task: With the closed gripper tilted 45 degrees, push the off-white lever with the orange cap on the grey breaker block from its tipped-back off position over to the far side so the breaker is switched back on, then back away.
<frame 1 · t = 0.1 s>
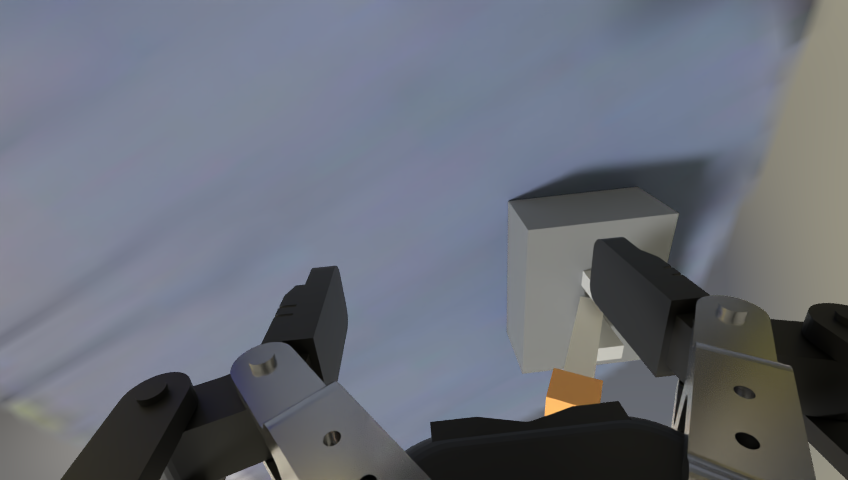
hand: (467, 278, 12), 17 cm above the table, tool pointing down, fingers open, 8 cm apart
breaker block: (566, 265, 33), on the table
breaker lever: (581, 361, 24), point 10 cm above the table, hinge at 30.0°
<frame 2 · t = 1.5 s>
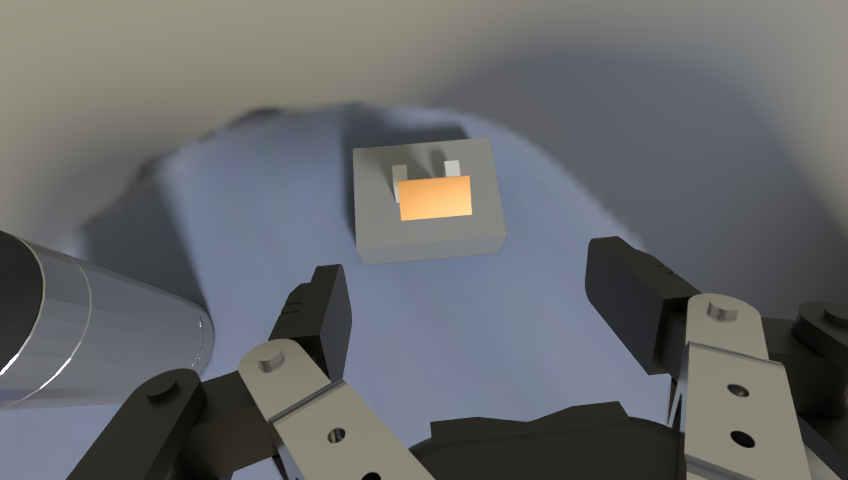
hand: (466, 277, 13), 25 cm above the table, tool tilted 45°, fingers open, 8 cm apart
breaker block: (426, 212, 40), on the table
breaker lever: (430, 193, 30), point 10 cm above the table, hinge at 30.0°
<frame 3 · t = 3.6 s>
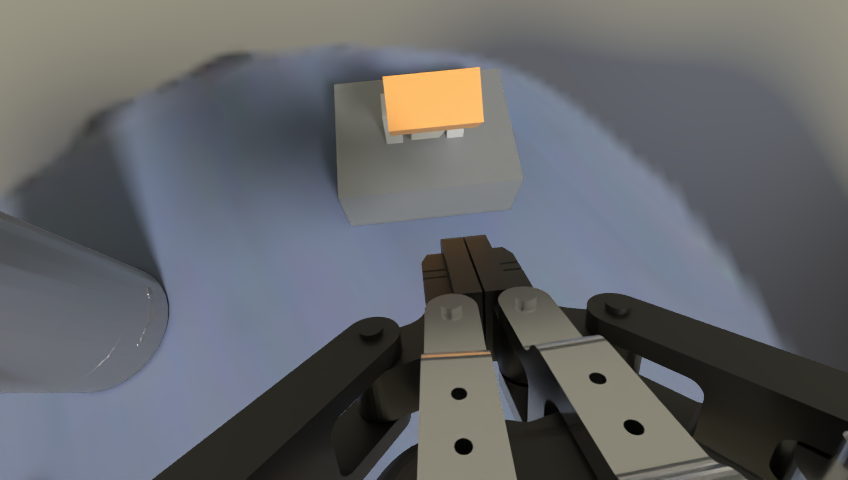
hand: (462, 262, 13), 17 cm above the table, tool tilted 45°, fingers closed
breaker block: (424, 164, 34), on the table
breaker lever: (427, 116, 23), point 10 cm above the table, hinge at 30.0°
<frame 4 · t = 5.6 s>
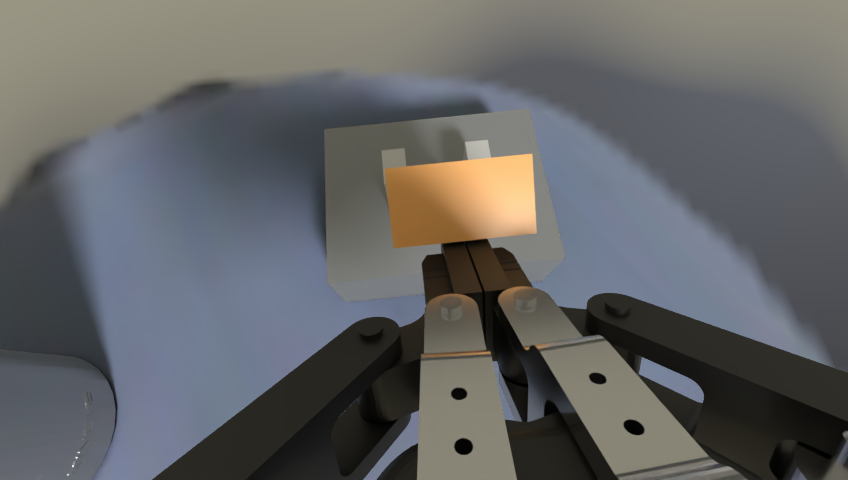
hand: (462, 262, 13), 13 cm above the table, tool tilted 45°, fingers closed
breaker block: (435, 222, 28), on the table
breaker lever: (446, 193, 17), point 10 cm above the table, hinge at 30.0°, touching gripper
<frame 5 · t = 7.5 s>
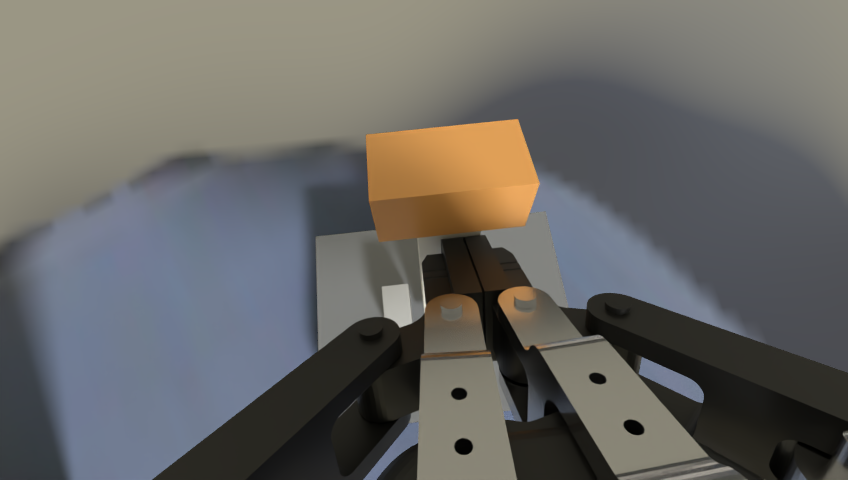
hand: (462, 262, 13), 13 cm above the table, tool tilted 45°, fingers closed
breaker block: (440, 325, 25), on the table
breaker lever: (445, 253, 15), point 11 cm above the table, hinge at -11.7°, touching gripper
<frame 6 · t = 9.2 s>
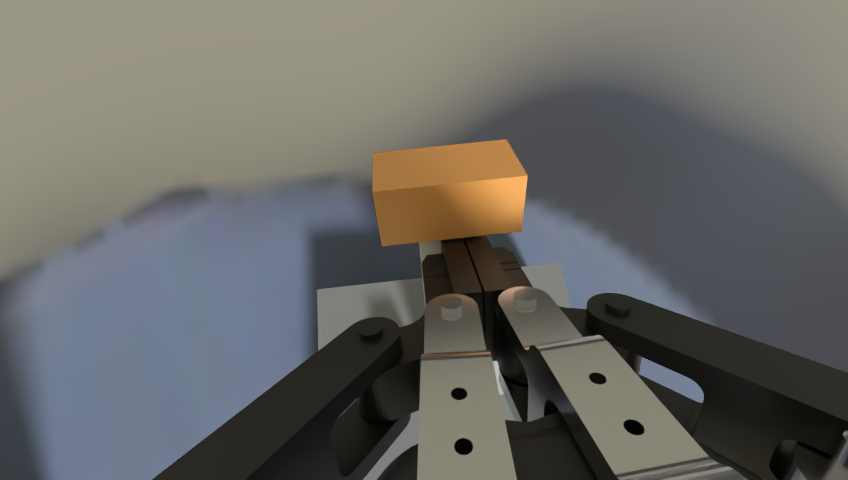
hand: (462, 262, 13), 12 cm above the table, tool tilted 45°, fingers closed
breaker block: (447, 376, 24), on the table
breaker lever: (449, 284, 15), point 10 cm above the table, hinge at -31.4°, touching gripper
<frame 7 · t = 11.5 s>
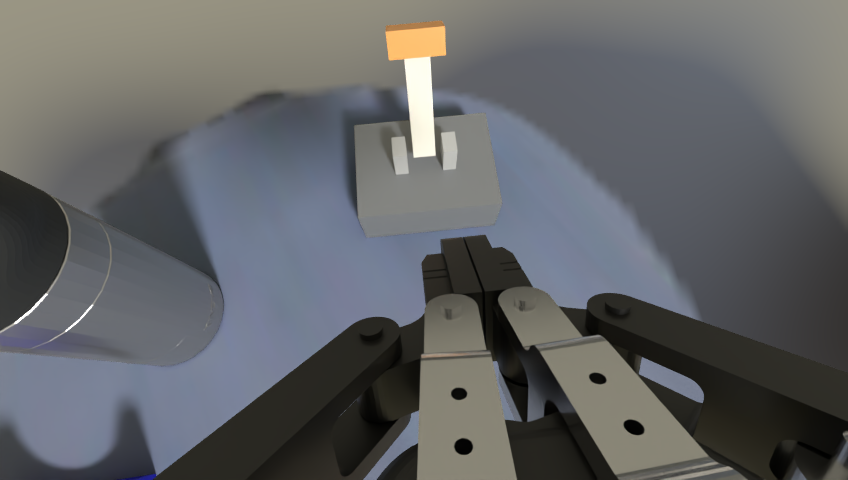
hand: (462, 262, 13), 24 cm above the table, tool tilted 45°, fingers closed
breaker block: (425, 187, 42), on the table
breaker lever: (419, 95, 33), point 10 cm above the table, hinge at -31.5°
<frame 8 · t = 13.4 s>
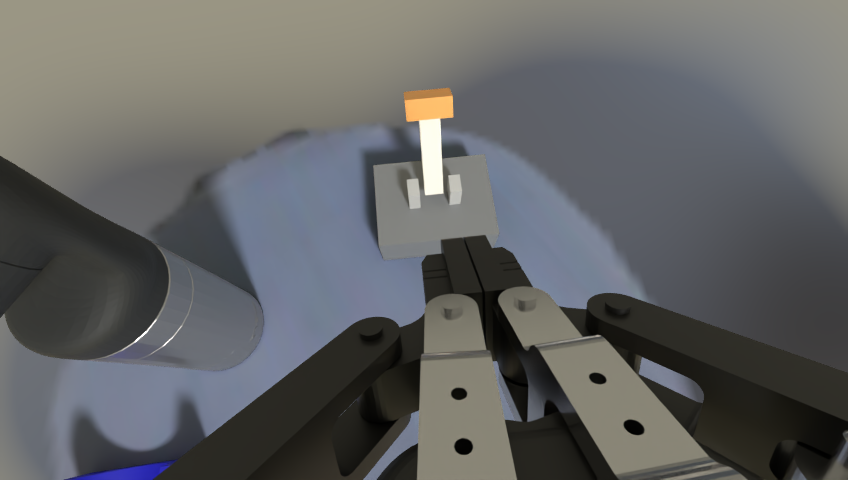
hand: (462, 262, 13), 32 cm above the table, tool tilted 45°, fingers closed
breaker block: (433, 216, 49), on the table
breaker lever: (430, 146, 40), point 10 cm above the table, hinge at -31.5°
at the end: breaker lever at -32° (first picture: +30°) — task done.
